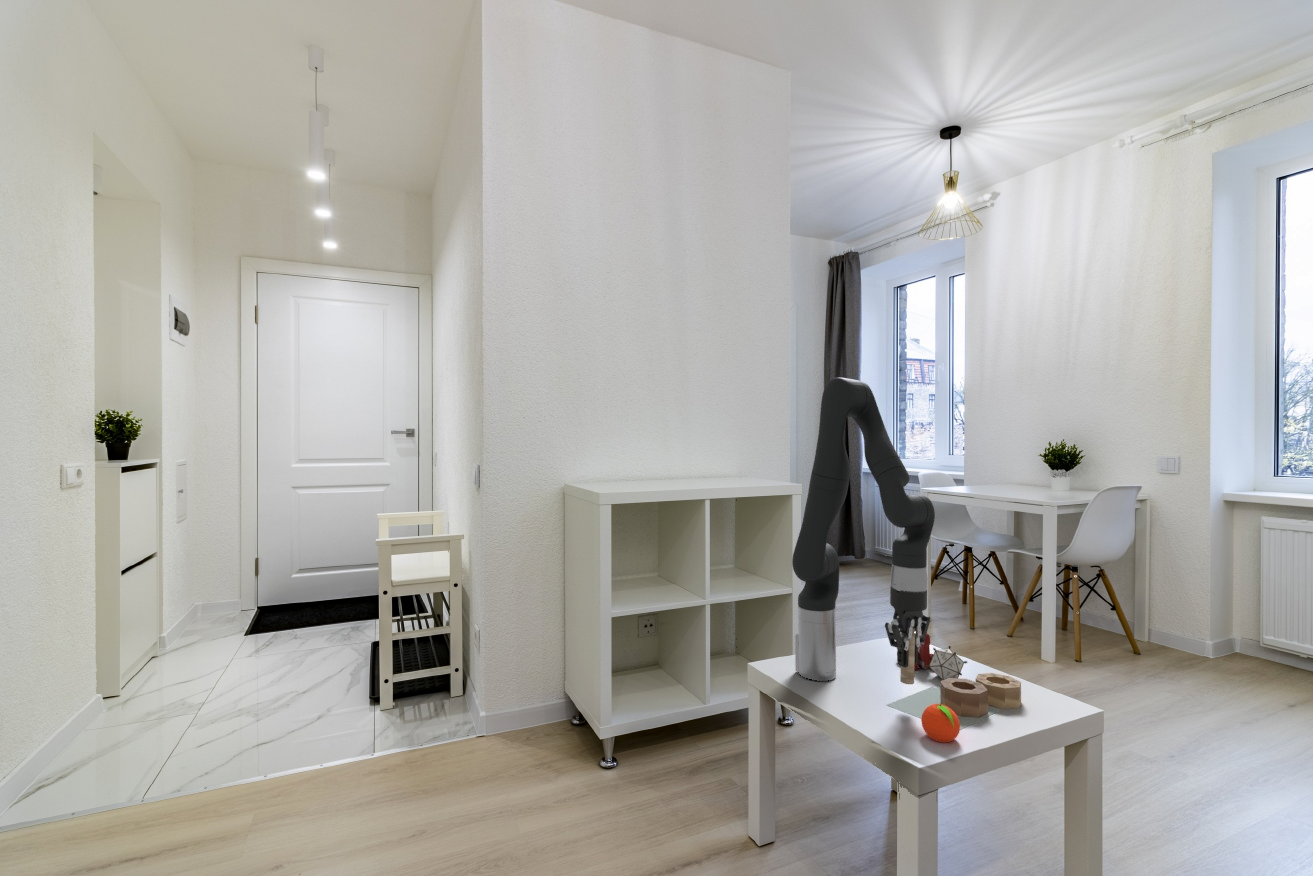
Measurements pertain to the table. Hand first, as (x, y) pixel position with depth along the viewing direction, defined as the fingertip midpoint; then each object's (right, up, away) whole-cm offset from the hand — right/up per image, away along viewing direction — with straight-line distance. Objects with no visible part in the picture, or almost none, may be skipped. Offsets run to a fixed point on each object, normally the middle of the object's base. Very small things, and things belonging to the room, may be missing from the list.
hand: (907, 664), depth 136 cm
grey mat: (+8, -10, 0) cm, 13 cm away
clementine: (+1, -10, -15) cm, 18 cm away
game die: (+17, -11, +17) cm, 26 cm away
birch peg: (0, -4, 0) cm, 4 cm away
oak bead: (+22, -10, +4) cm, 24 cm away
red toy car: (+13, -11, +27) cm, 32 cm away
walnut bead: (+12, -9, -1) cm, 15 cm away
